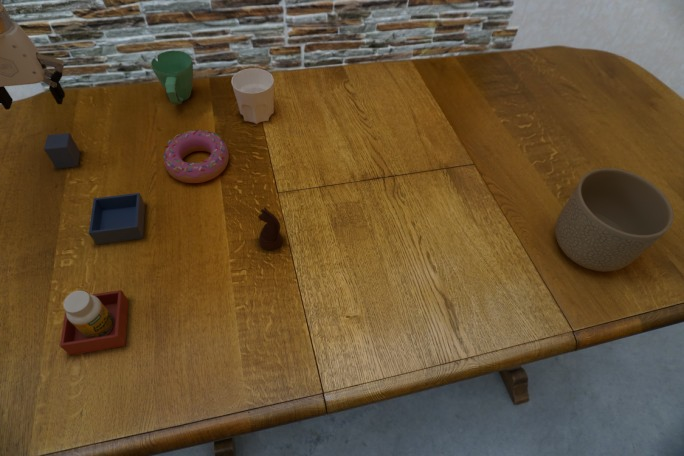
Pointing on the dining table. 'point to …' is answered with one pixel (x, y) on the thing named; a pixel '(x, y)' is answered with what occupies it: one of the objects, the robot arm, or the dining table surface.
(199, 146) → the donut
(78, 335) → the red bin
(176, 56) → the mug
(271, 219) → the chess piece
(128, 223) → the blue bin
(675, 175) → the dining table surface
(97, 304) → the supplement bottle
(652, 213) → the planter
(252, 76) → the cup
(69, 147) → the blue block
